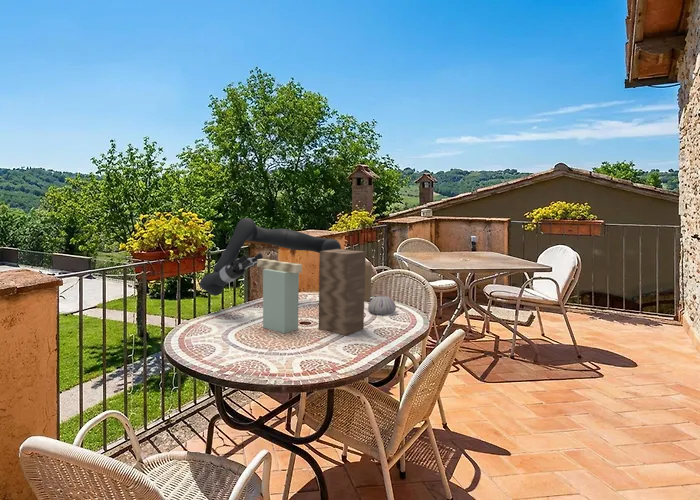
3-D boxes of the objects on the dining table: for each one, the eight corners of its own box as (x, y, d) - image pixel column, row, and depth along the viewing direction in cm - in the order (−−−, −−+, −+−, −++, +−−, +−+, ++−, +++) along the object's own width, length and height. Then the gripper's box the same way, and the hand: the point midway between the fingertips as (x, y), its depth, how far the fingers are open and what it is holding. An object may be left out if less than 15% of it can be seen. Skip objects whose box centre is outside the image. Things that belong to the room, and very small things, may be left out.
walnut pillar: (318, 329, 180) (319, 251, 176) (336, 323, 190) (338, 248, 186) (346, 336, 172) (347, 254, 168) (363, 329, 181) (365, 251, 178)
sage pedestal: (263, 327, 180) (263, 269, 178) (277, 323, 187) (277, 267, 184) (284, 333, 173) (284, 272, 171) (298, 328, 180) (298, 270, 177)
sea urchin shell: (401, 313, 209) (402, 296, 208) (382, 318, 200) (382, 300, 199) (381, 307, 219) (381, 292, 218) (361, 312, 210) (362, 295, 209)
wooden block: (370, 298, 240) (371, 261, 238) (369, 302, 230) (370, 264, 228) (352, 297, 241) (353, 260, 239) (350, 301, 231) (351, 263, 229)
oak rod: (257, 267, 183) (257, 259, 183) (262, 266, 186) (262, 258, 185) (296, 273, 170) (296, 265, 170) (301, 272, 173) (301, 264, 172)
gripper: (215, 265, 190) (237, 249, 181) (241, 262, 202) (263, 246, 193) (221, 281, 189) (243, 266, 180) (247, 277, 200) (269, 262, 191)
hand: (253, 256), depth 186 cm, fingers open, 8 cm apart
